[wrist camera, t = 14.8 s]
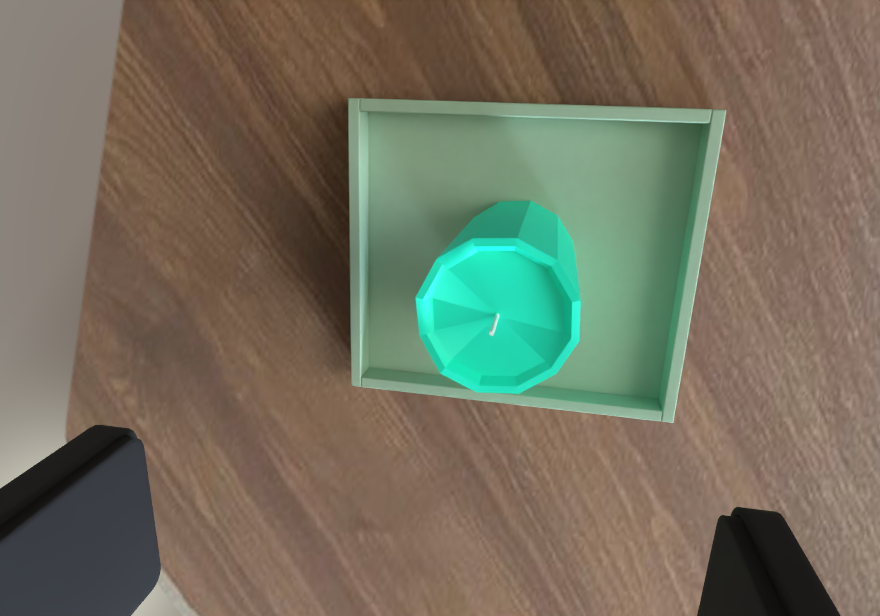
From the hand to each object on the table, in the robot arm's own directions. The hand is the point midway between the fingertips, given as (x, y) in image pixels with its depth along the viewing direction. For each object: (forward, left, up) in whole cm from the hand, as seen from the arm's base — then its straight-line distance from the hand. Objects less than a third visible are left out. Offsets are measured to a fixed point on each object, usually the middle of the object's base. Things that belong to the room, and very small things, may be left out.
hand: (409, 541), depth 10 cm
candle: (0, 0, -23) cm, 23 cm away
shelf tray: (0, 0, -23) cm, 23 cm away
